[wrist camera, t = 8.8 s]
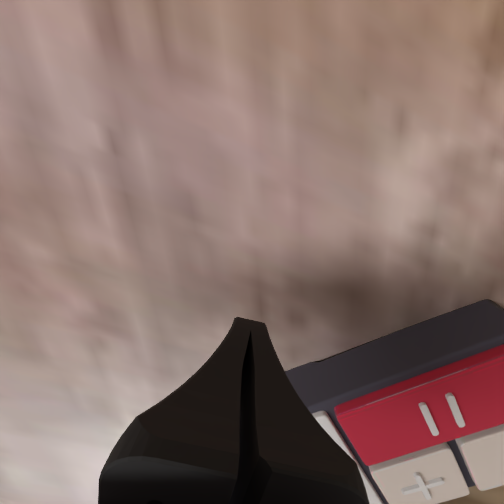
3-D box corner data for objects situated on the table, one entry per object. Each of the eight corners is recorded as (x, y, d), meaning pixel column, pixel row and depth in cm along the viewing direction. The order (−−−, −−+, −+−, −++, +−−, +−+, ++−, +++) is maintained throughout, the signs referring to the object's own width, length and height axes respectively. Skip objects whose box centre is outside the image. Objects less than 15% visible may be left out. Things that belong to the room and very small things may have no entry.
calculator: (579, 475, 16) (332, 542, 19) (515, 409, 20) (319, 472, 23) (548, 334, 13) (253, 441, 16) (479, 287, 17) (254, 380, 20)
